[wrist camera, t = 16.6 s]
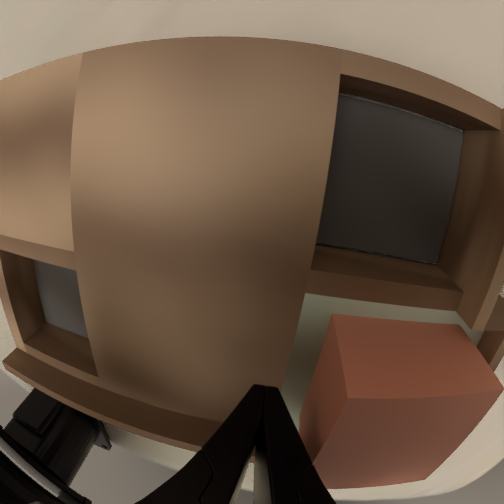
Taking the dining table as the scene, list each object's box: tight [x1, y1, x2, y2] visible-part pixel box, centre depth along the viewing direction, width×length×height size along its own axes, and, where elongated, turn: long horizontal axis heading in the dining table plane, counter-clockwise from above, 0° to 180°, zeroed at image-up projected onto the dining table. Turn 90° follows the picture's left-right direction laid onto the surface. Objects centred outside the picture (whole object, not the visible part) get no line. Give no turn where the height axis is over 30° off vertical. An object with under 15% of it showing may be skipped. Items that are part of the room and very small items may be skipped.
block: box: [299, 313, 504, 489], centre depth 8 cm, size 5×5×4 cm
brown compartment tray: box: [0, 37, 504, 463], centre depth 9 cm, size 15×23×4 cm, turn 83°
